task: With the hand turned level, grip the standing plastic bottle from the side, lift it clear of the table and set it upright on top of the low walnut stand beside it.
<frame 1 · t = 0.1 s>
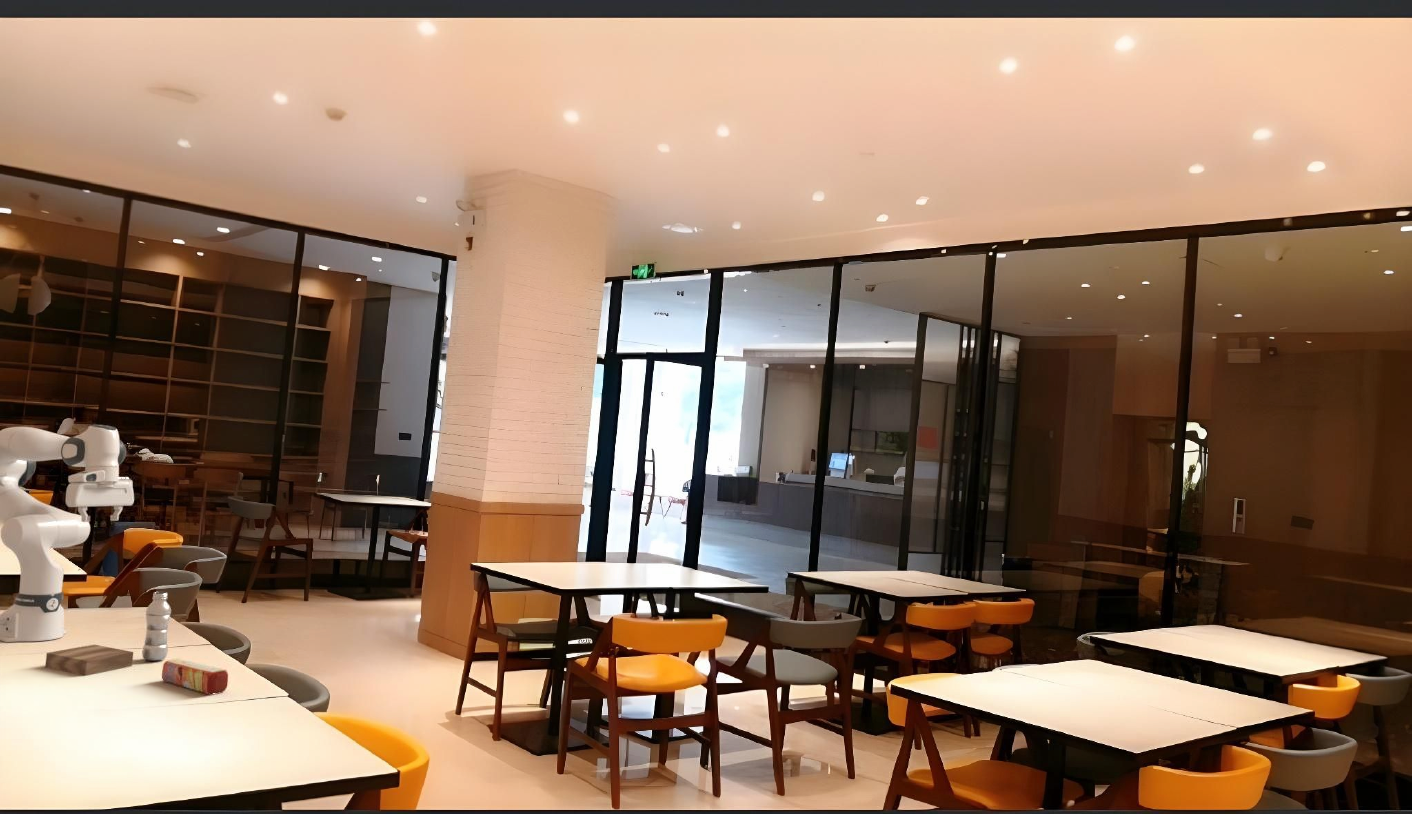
hand: (100, 521, 291), 39 cm above the table, tool pointing down, fingers open, 8 cm apart
walnut stand: (89, 666, 267), on the table
snack package: (192, 688, 255), on the table
plastic bottle: (154, 660, 279), on the table
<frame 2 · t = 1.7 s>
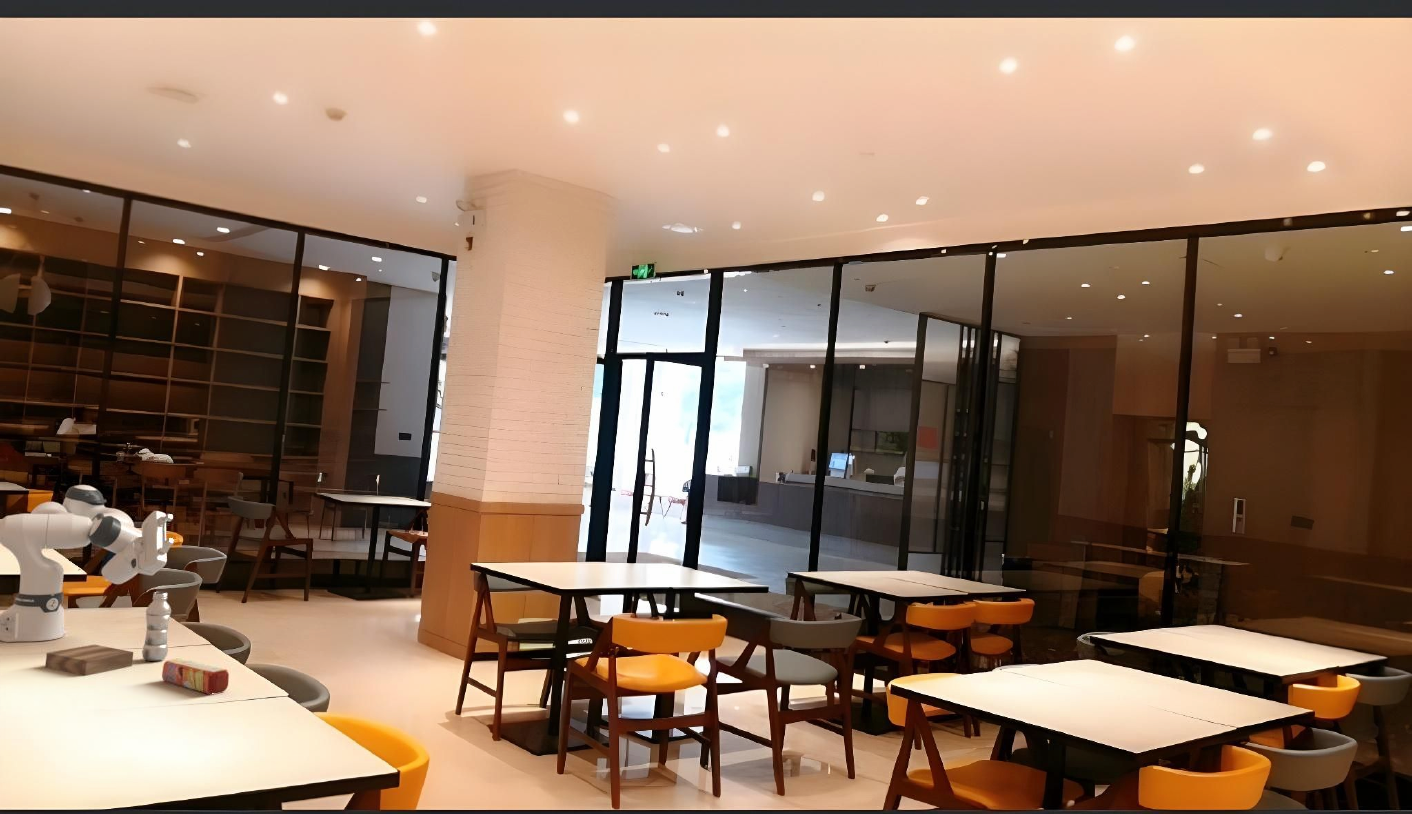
hand: (171, 528, 296), 38 cm above the table, tool pointing upward, fingers open, 8 cm apart
nothing on the table moved.
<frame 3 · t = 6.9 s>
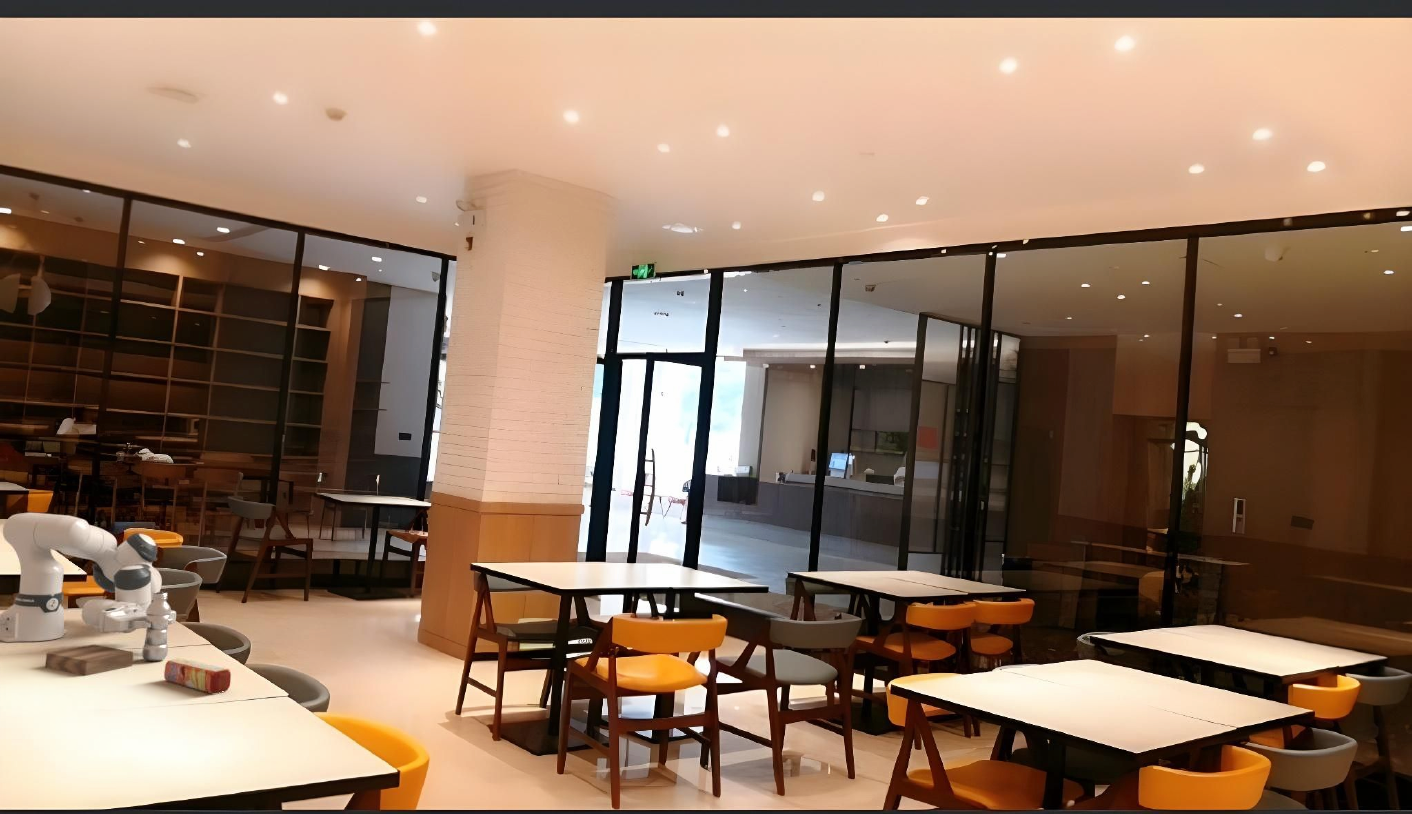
hand: (160, 623, 279), 11 cm above the table, tool horizontal, fingers closed on plastic bottle, 6 cm apart
plastic bottle: (154, 660, 279), on the table, touching gripper
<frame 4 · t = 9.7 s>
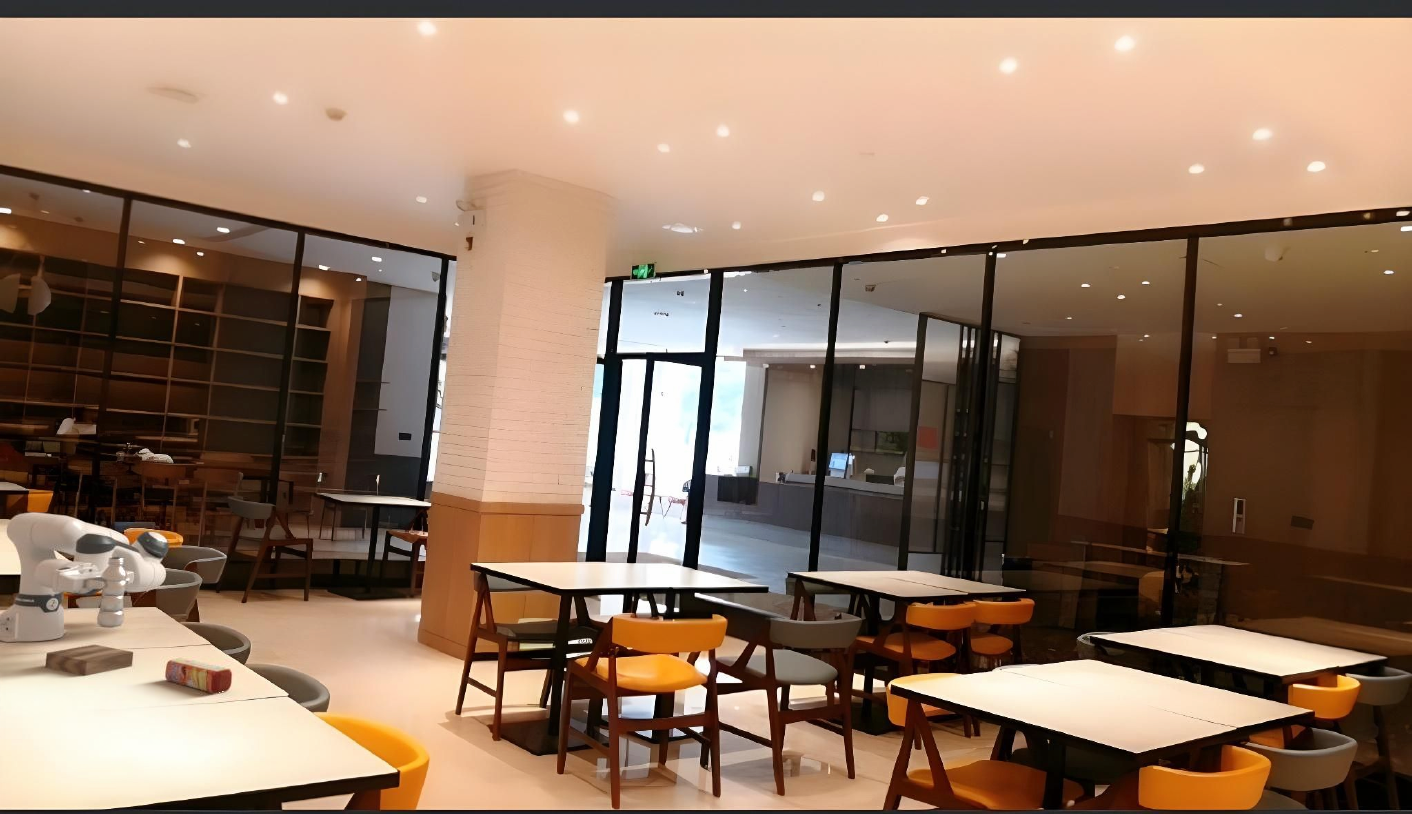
hand: (116, 583, 271), 24 cm above the table, tool horizontal, fingers closed on plastic bottle, 6 cm apart
plastic bottle: (109, 628, 270), point 11 cm above the table, touching gripper
when the fingers open (17 cm above the table, at t = 12.7 s): plastic bottle stays where it is, resting on walnut stand.
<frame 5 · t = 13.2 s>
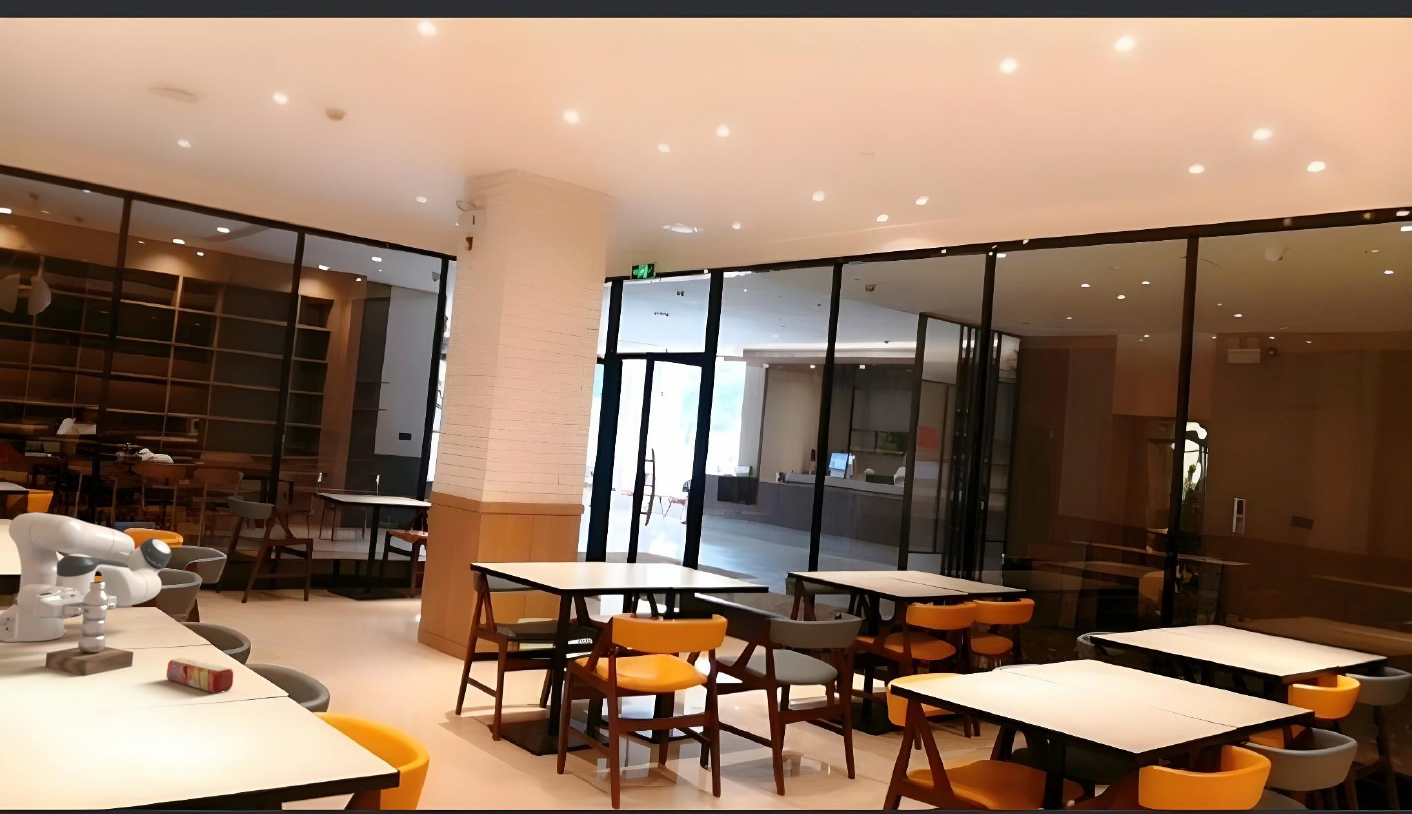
hand: (97, 608, 268), 17 cm above the table, tool horizontal, fingers open, 8 cm apart
plastic bottle: (90, 653, 268), point 4 cm above the table, touching walnut stand
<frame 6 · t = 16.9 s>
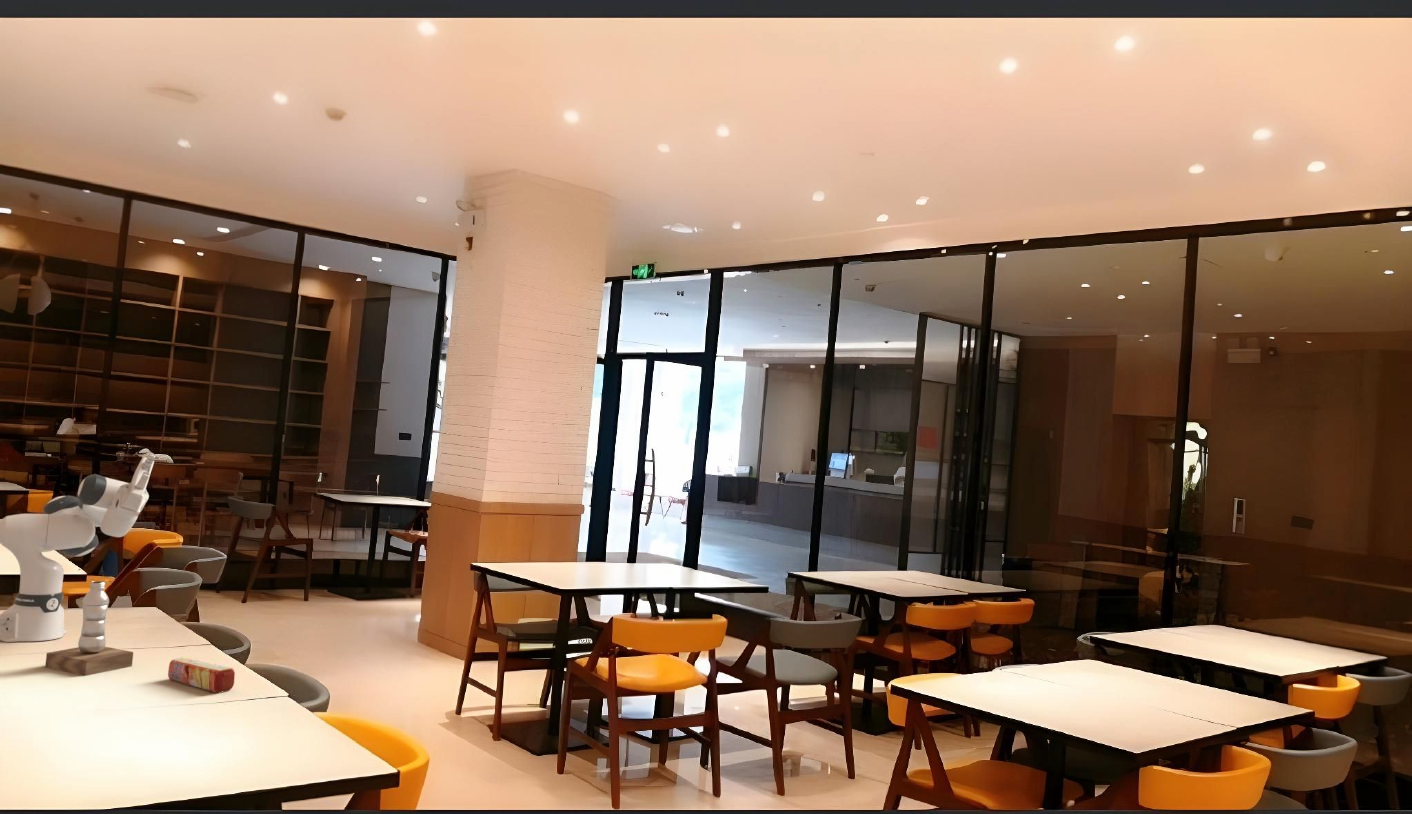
hand: (149, 465, 295), 57 cm above the table, tool pointing upward, fingers open, 8 cm apart
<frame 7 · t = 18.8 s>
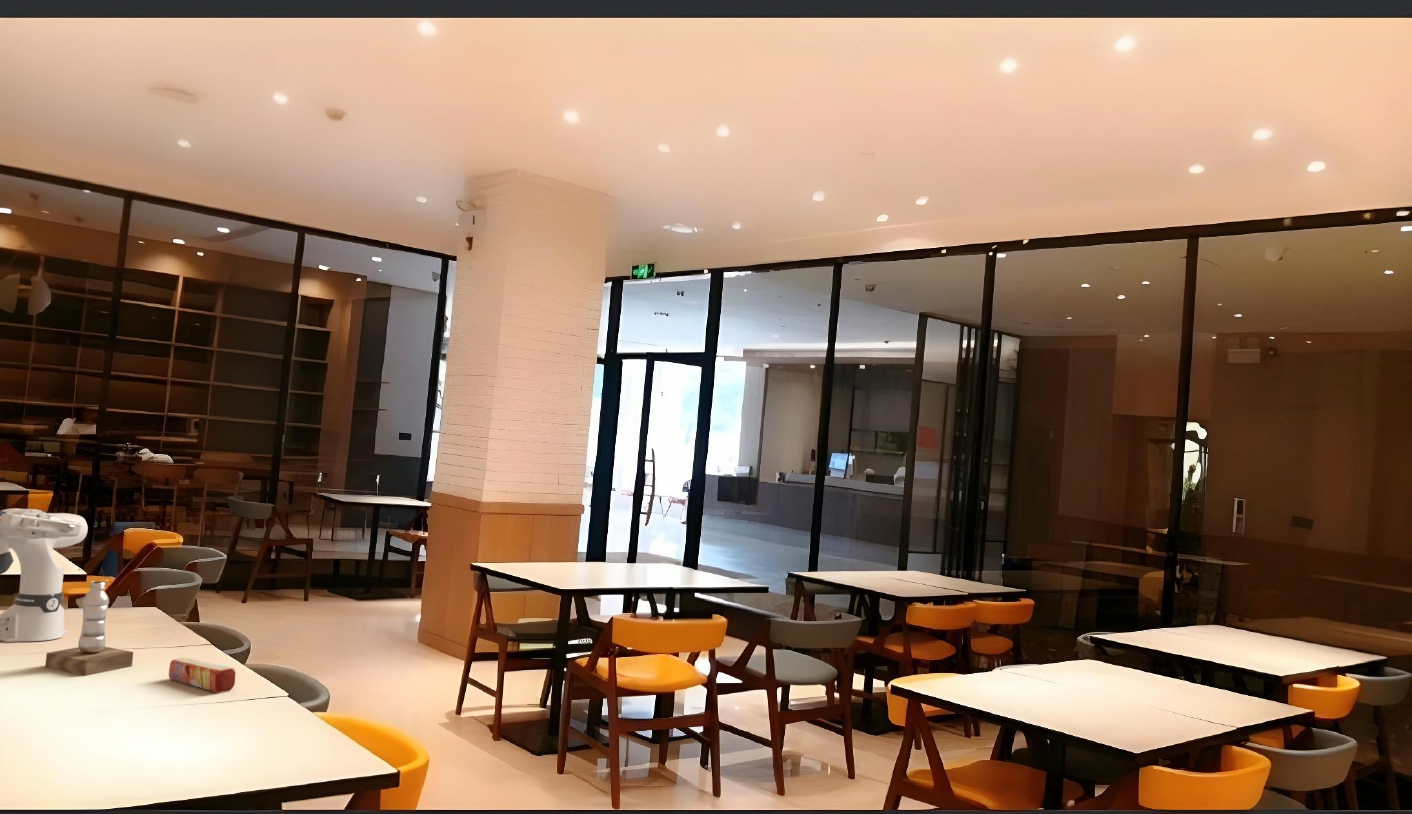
hand: (55, 525, 270), 39 cm above the table, tool horizontal, fingers open, 8 cm apart
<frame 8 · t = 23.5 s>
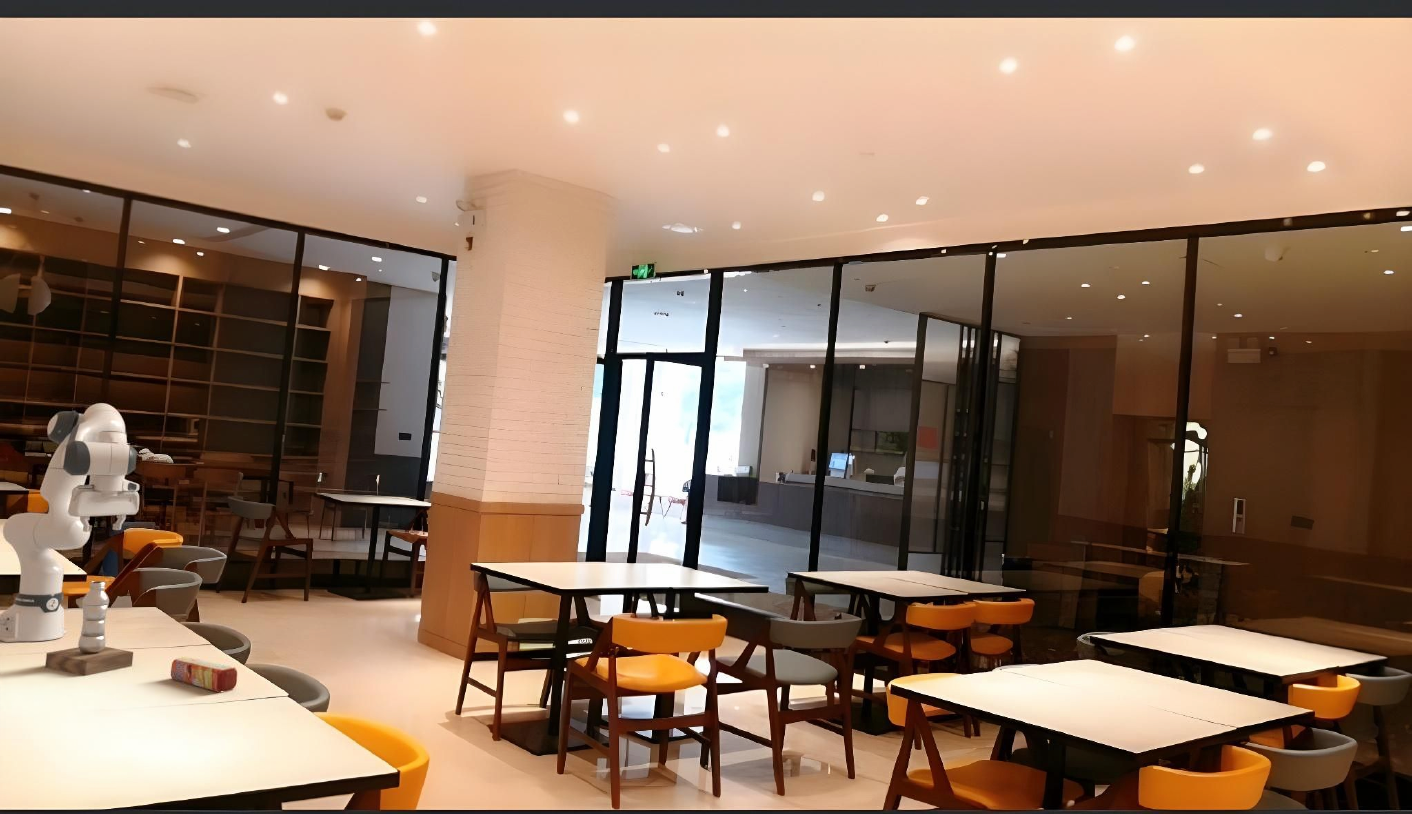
hand: (102, 530, 282), 37 cm above the table, tool pointing down, fingers open, 8 cm apart
at the end: plastic bottle inside the target area on the walnut stand (0.1 cm from its centre), point 3.8 cm above the walnut stand's base; plastic bottle tilted 0°; the gripper is holding nothing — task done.
